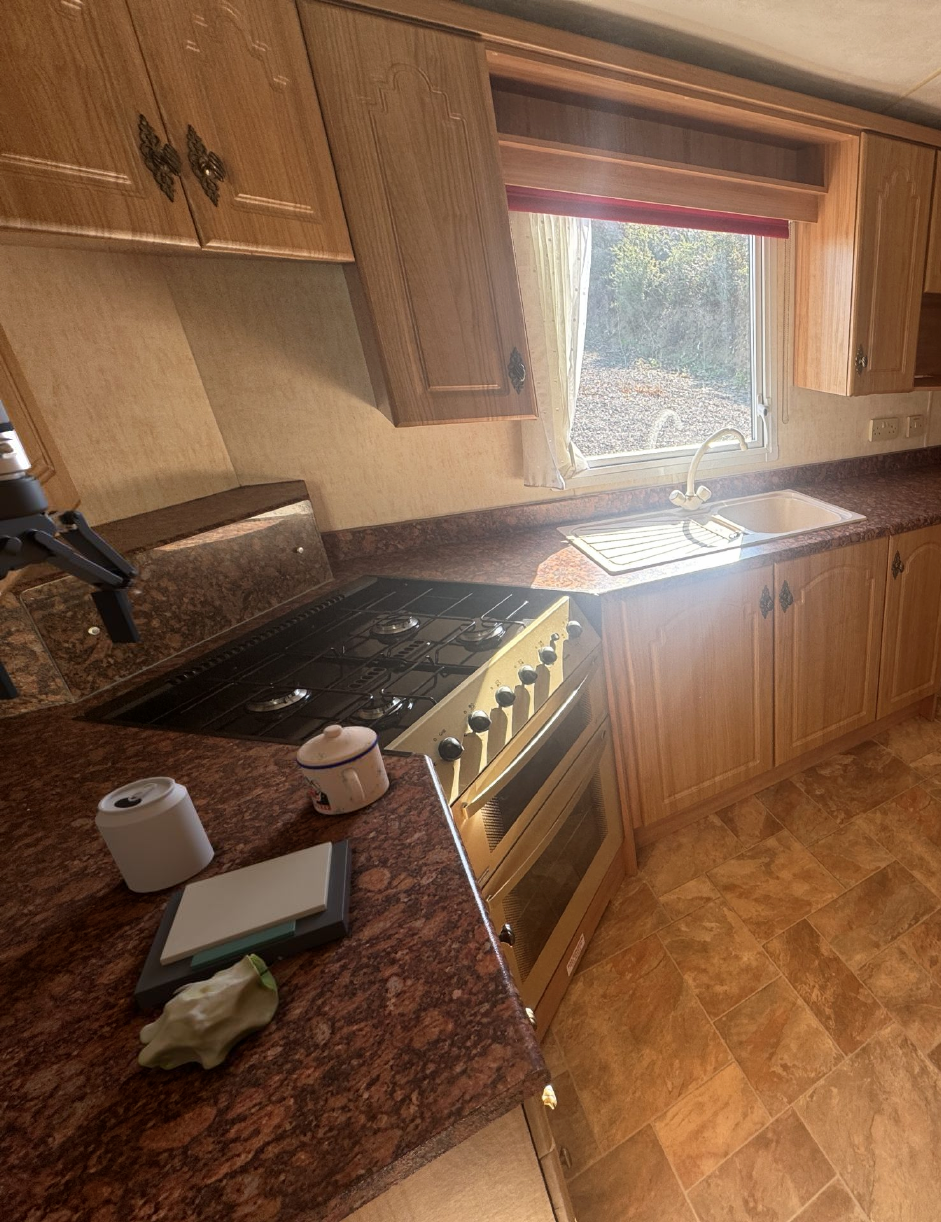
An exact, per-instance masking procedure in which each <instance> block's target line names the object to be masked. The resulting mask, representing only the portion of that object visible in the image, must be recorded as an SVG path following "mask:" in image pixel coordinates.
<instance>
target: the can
mask: <svg viewBox="0 0 941 1222" xmlns="http://www.w3.org/2000/svg"><path fill="white" fill-rule="evenodd" d="M97 809H98V812H97V814H96V816H95V817H94V823H95V825H96V827H97V829H98V831H99V833H100V836H101V837H102V839H103V841H104V843H105V844H106V846H107V848H108V851H109V852H110V854H111V856H112V858H113V860H114V862H115V864H116V866H117V868H118V870H119V872H120V873H121V875H122V877H123V879H124V882H125V883H126V886H127V887H128V889H129V890H131V891H132V892H135V893H145V894H146V893H151V892H157V891H161V890H164V889H167V888H172V887H173V886H175V885H178V884H181V883H182V882H185V881H187V880H189V879H190V878H192V877H193V876H195V875H197V874H198V873H200V872H201V871H202V870H204V869H205V868H206V867H207V866H208V865H209V863H211V861H212V860H213V858H214V855H215V852H214V849H213V847H212V845H211V842H210V840H209V838H208V835H207V832H206V830H205V829H204V826H203V824H202V822H201V819H200V817H199V815H198V812H197V810H196V808H195V806H194V803H193V801H192V798H191V797H190V795H189V792H188V790H187V787H186V786H184V785H183V784H180V783H176V782H175V779H173V778H171V777H170V776H169V777H168V776H156V777H155V776H154V777H149V778H144V779H140V780H137V781H134V782H131V783H128V784H126V785H123V786H121V787H118V788H117V789H115V790H114V791H111V792H110V793H108V794H107V795H105V796H104V797H103V798H102V799H101V800H100V801H99V803H98V804H97Z"/></svg>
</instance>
